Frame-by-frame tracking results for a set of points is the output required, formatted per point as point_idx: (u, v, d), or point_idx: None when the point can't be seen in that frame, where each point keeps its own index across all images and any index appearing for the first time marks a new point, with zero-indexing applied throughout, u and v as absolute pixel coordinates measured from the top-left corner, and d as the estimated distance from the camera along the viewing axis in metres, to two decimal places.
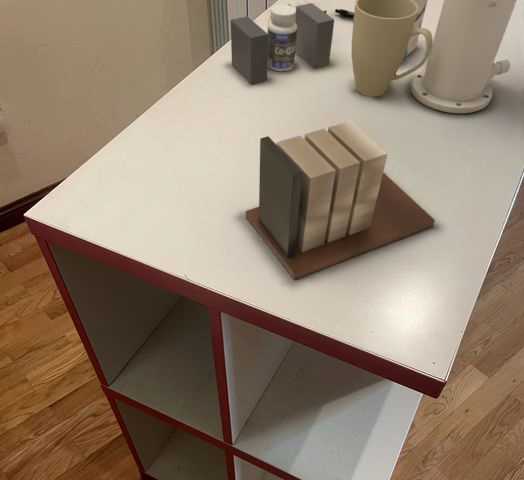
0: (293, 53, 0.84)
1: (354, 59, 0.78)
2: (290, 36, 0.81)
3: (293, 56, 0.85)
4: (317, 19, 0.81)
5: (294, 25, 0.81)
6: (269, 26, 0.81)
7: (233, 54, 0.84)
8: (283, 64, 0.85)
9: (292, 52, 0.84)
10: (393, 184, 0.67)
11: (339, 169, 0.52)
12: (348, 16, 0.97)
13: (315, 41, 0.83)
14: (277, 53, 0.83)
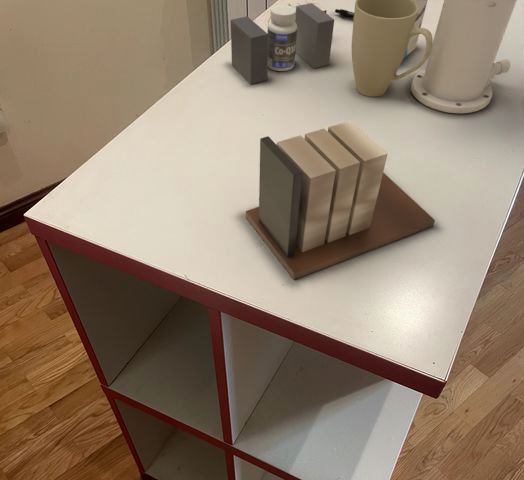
0: (293, 53, 0.84)
1: (354, 59, 0.78)
2: (290, 36, 0.81)
3: (293, 56, 0.85)
4: (317, 19, 0.81)
5: (294, 25, 0.81)
6: (269, 26, 0.81)
7: (233, 54, 0.84)
8: (283, 64, 0.85)
9: (292, 52, 0.84)
10: (393, 184, 0.67)
11: (339, 169, 0.52)
12: (348, 16, 0.97)
13: (315, 41, 0.83)
14: (277, 53, 0.83)
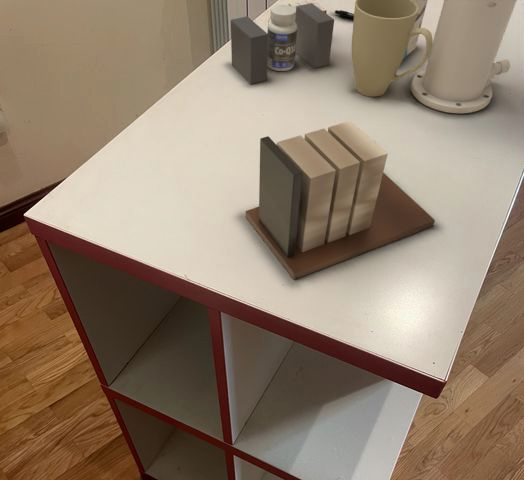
0: (293, 53, 0.84)
1: (354, 59, 0.78)
2: (290, 36, 0.81)
3: (293, 56, 0.85)
4: (317, 19, 0.81)
5: (294, 25, 0.81)
6: (269, 26, 0.81)
7: (233, 54, 0.84)
8: (283, 64, 0.85)
9: (292, 52, 0.84)
10: (393, 184, 0.67)
11: (339, 169, 0.52)
12: (348, 17, 0.97)
13: (315, 41, 0.83)
14: (277, 53, 0.83)
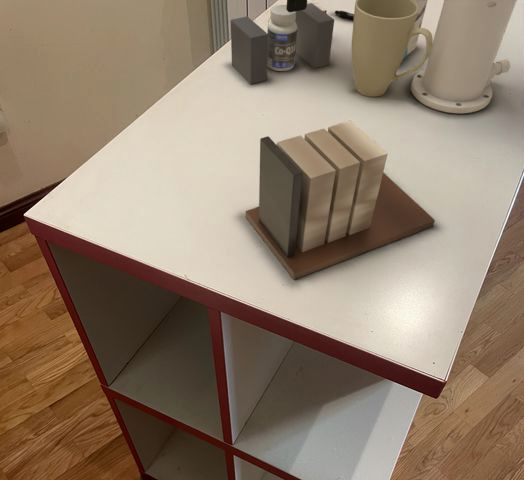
0: (293, 53, 0.84)
1: (354, 59, 0.78)
2: (290, 36, 0.81)
3: (293, 56, 0.85)
4: (317, 19, 0.81)
5: (294, 25, 0.81)
6: (269, 26, 0.81)
7: (233, 54, 0.84)
8: (283, 64, 0.85)
9: (292, 52, 0.84)
10: (393, 184, 0.67)
11: (339, 169, 0.52)
12: (348, 17, 0.97)
13: (315, 41, 0.83)
14: (277, 53, 0.83)
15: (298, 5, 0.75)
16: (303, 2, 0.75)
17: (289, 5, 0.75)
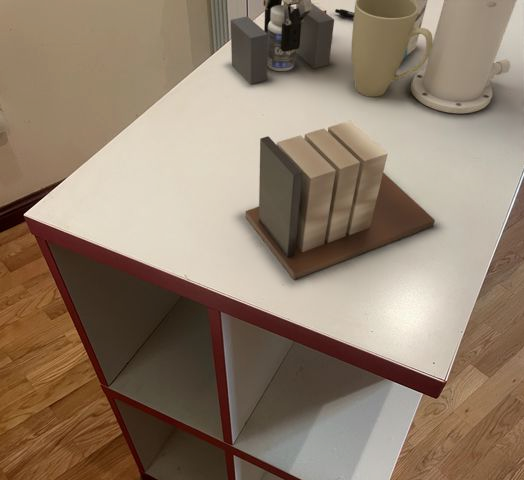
0: (293, 53, 0.84)
1: (354, 59, 0.78)
2: None
3: (293, 56, 0.85)
4: (317, 19, 0.81)
5: None
6: (269, 26, 0.81)
7: (233, 54, 0.84)
8: (283, 64, 0.85)
9: (292, 52, 0.84)
10: (393, 184, 0.67)
11: (339, 169, 0.52)
12: (348, 16, 0.97)
13: (315, 41, 0.83)
14: (277, 53, 0.83)
15: (291, 45, 0.81)
16: (296, 42, 0.81)
17: (283, 45, 0.81)
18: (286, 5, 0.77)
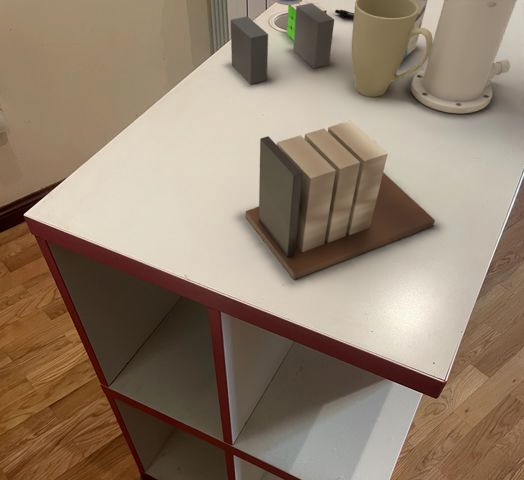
0: None
1: (354, 59, 0.78)
2: None
3: None
4: (317, 19, 0.81)
5: None
6: None
7: (233, 54, 0.84)
8: None
9: None
10: (393, 184, 0.67)
11: (339, 169, 0.52)
12: (348, 17, 0.97)
13: (315, 41, 0.83)
14: None
15: None
16: None
17: None
18: None
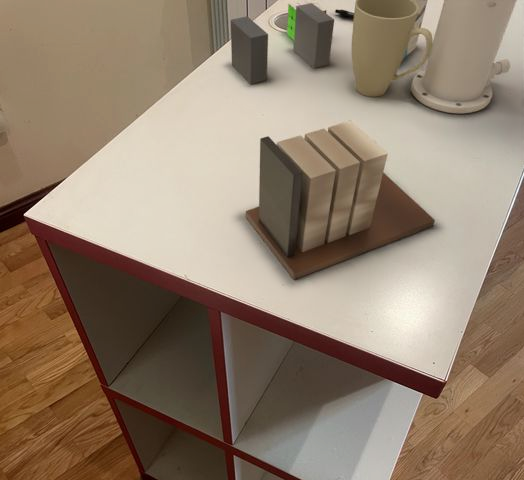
0: None
1: (354, 59, 0.78)
2: None
3: None
4: (317, 19, 0.81)
5: None
6: None
7: (233, 54, 0.84)
8: None
9: None
10: (393, 184, 0.67)
11: (339, 169, 0.52)
12: (348, 16, 0.97)
13: (315, 41, 0.83)
14: None
15: None
16: None
17: None
18: None
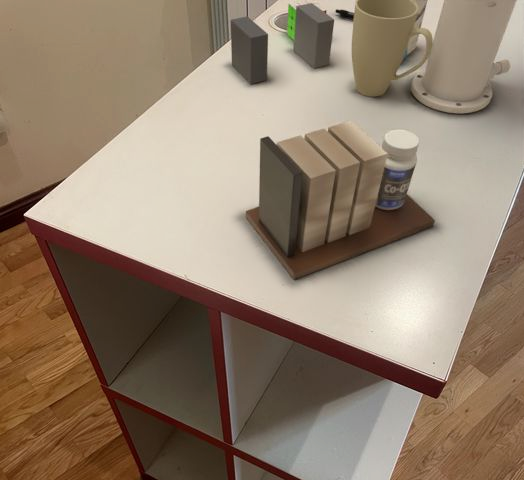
0: (407, 189, 0.62)
1: (354, 59, 0.78)
2: (409, 172, 0.60)
3: (406, 192, 0.63)
4: (317, 19, 0.81)
5: (415, 157, 0.59)
6: None
7: (233, 54, 0.84)
8: (393, 203, 0.63)
9: (406, 188, 0.62)
10: None
11: (339, 169, 0.52)
12: (348, 16, 0.97)
13: (315, 41, 0.83)
14: (388, 191, 0.61)
15: None
16: None
17: None
18: None
